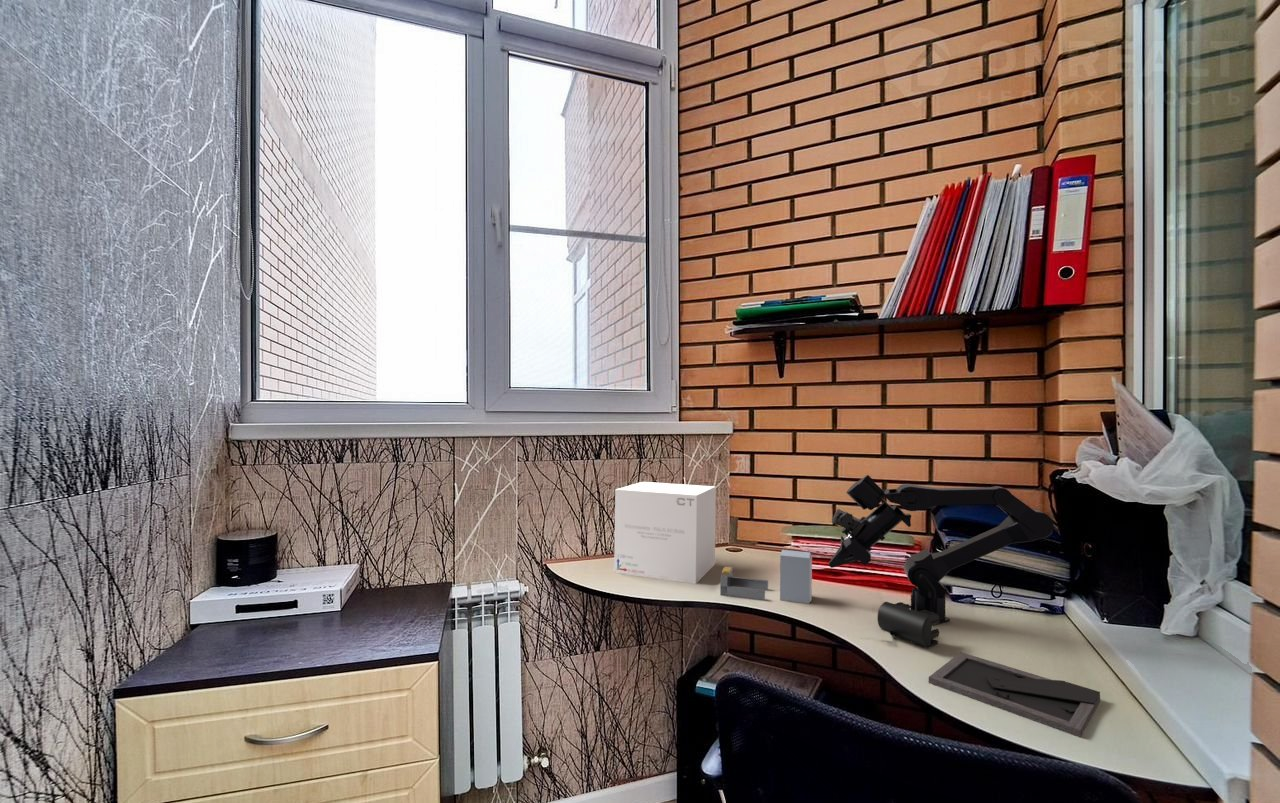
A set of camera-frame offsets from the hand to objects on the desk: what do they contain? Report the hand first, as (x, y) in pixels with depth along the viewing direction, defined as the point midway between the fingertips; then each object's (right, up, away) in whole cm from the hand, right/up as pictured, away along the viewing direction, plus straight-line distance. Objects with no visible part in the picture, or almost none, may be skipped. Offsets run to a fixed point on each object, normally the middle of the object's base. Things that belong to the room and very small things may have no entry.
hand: (829, 566), depth 133 cm
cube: (-39, -10, +31) cm, 51 cm away
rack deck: (-14, -10, +4) cm, 17 cm away
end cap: (+10, -10, -19) cm, 24 cm away
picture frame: (+17, -10, -40) cm, 45 cm away
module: (-8, -9, +2) cm, 12 cm away
